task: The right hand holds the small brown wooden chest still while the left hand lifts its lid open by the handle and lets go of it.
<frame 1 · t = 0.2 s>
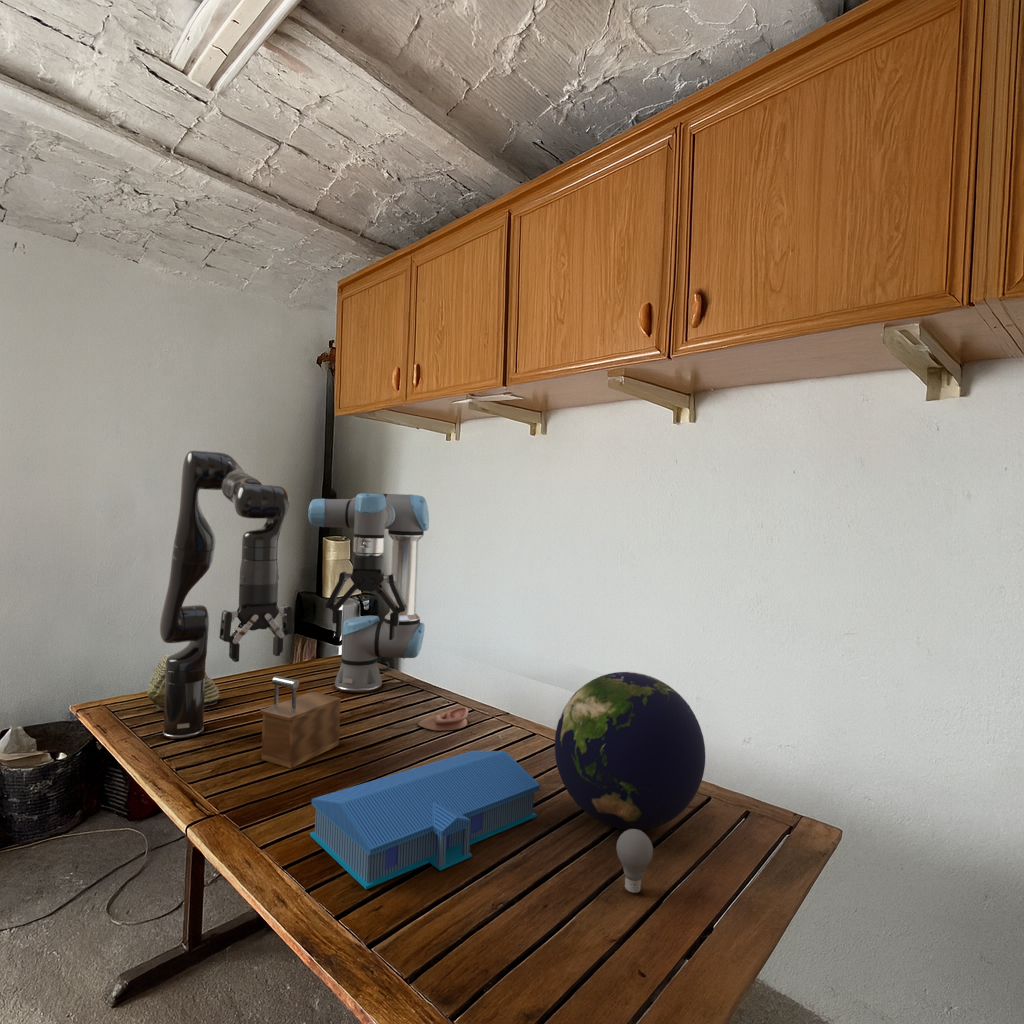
left hand: (256, 658, 132), 29 cm above the table, tool pointing down, fingers open, 8 cm apart
right hand: (365, 637, 161), 28 cm above the table, tool pointing down, fingers open, 13 cm apart
chest: (301, 751, 156), on the table
lid: (302, 690, 156), point 16 cm above the table, hinge at 0.0°
light bulb: (632, 891, 106), on the table
anatomical model: (443, 724, 179), on the table
globe: (624, 822, 129), on the table
model building: (432, 829, 123), on the table
fossil: (183, 706, 185), on the table
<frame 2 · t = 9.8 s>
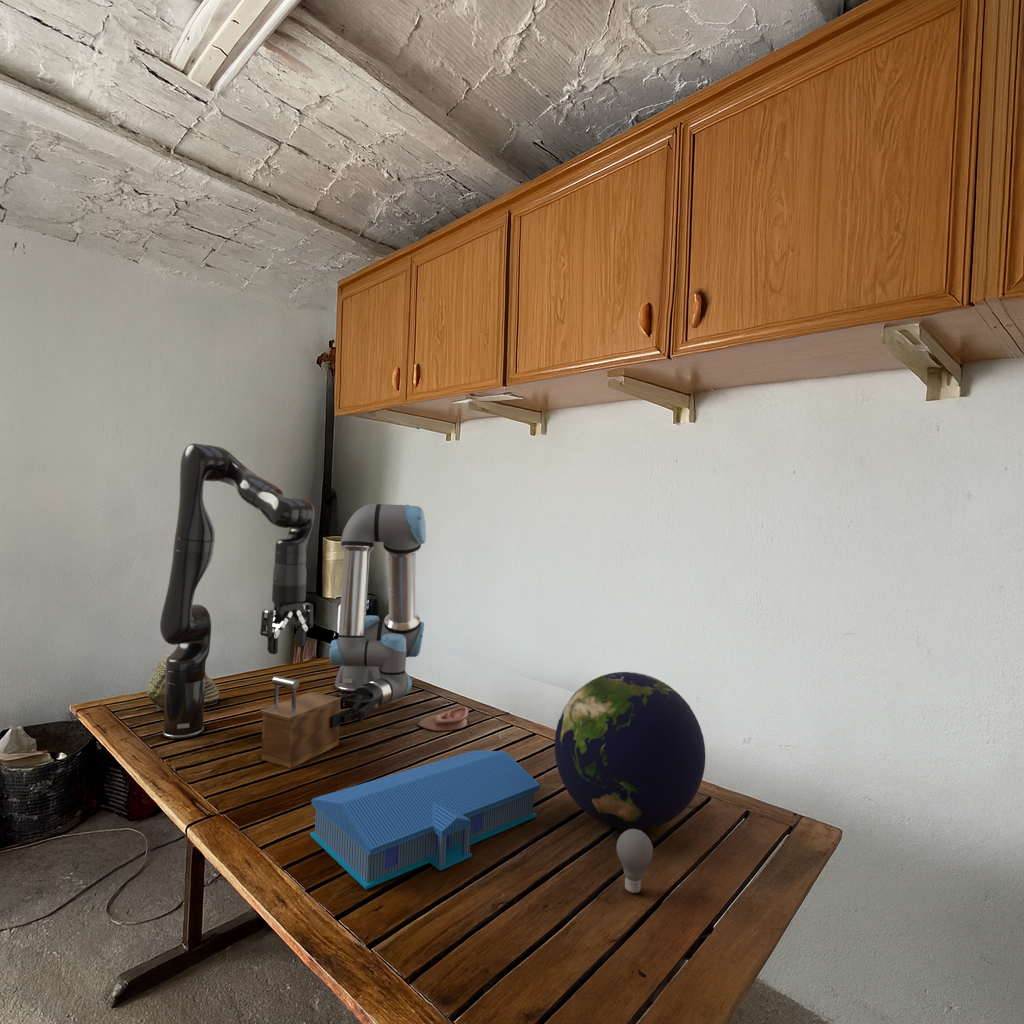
left hand: (287, 650, 150), 26 cm above the table, tool pointing down, fingers open, 8 cm apart
right hand: (315, 718, 160), 7 cm above the table, tool horizontal, fingers closed on chest, 10 cm apart
chest: (301, 751, 156), on the table, touching right hand
everything else where it was.
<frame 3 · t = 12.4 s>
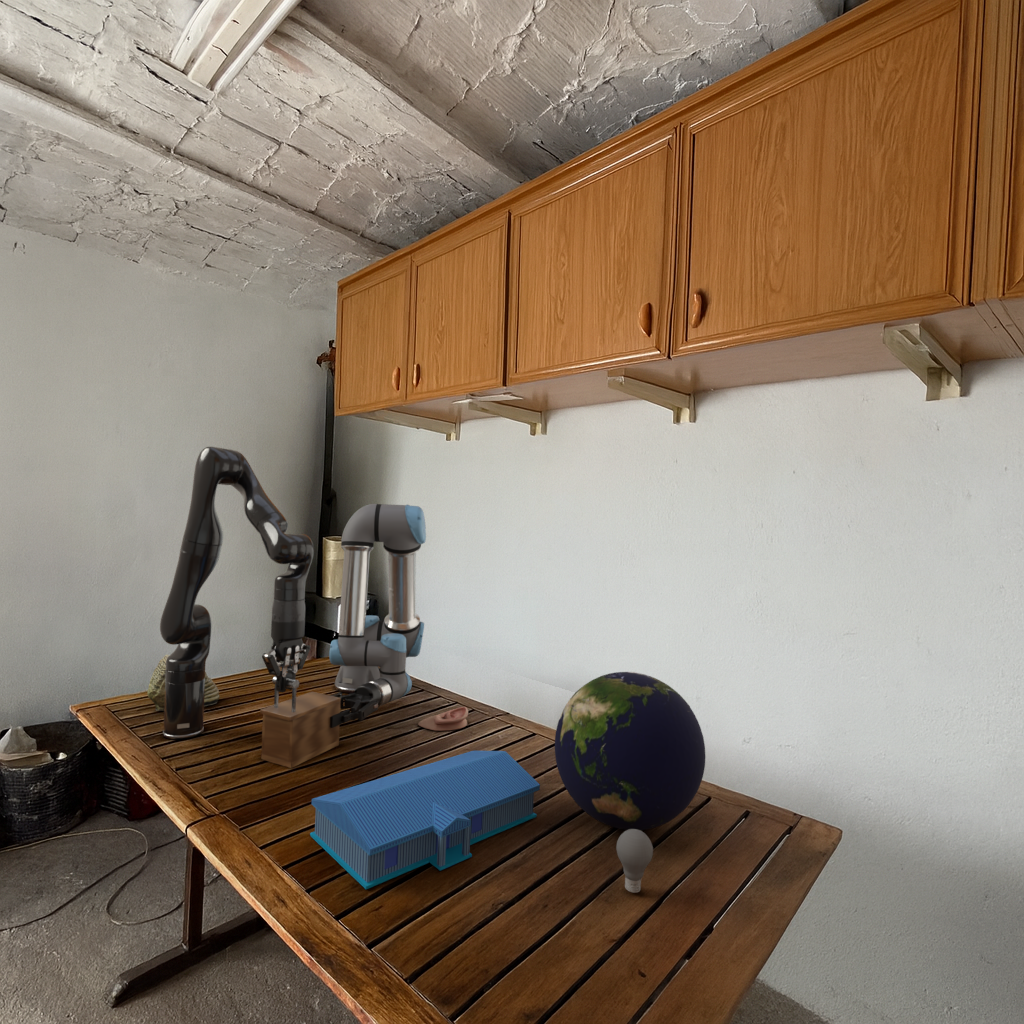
left hand: (285, 689, 151), 17 cm above the table, tool pointing down, fingers closed on lid, 2 cm apart
right hand: (315, 718, 160), 7 cm above the table, tool horizontal, fingers closed on chest, 10 cm apart
chest: (301, 751, 156), on the table, touching right hand
lid: (302, 689, 156), point 16 cm above the table, hinge at 0.2°, touching left hand
everything else where it was.
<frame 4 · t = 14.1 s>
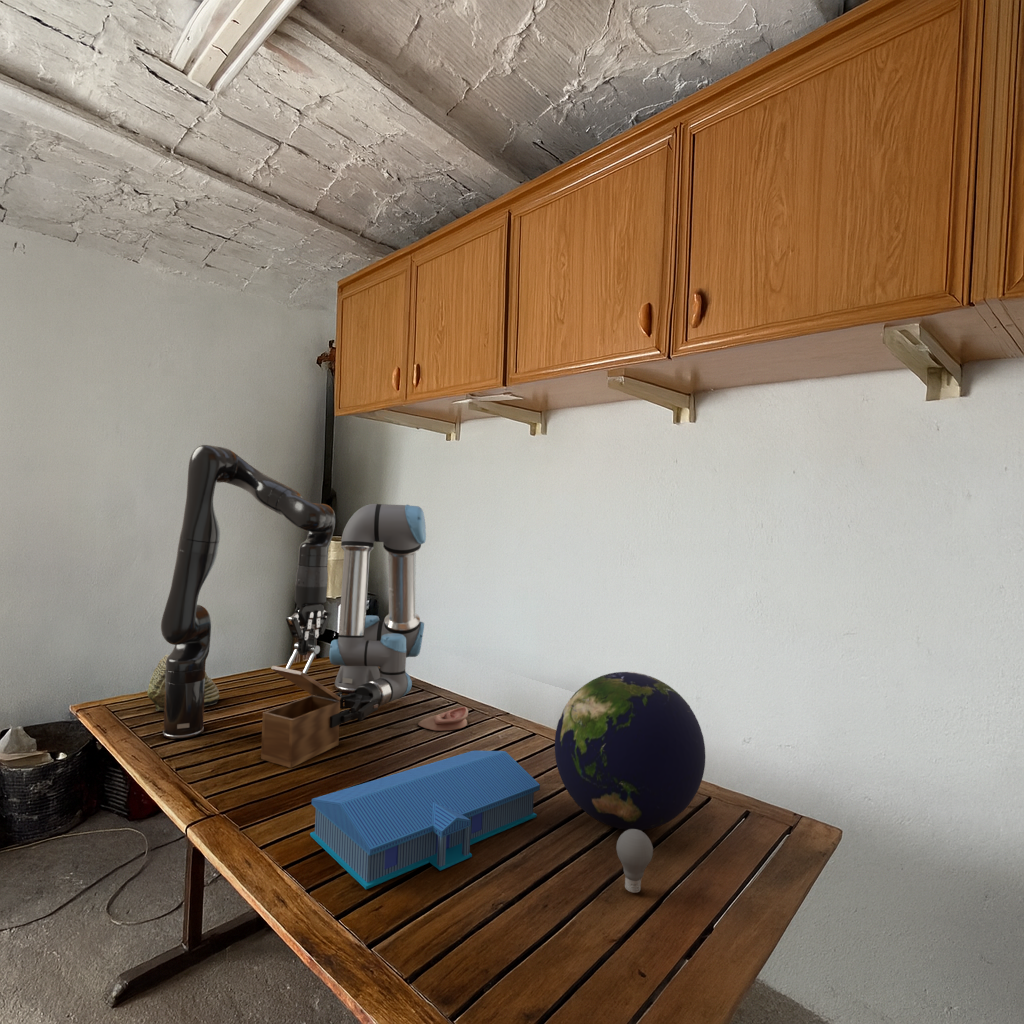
left hand: (306, 653, 157), 24 cm above the table, tool pointing down, fingers closed on lid, 2 cm apart
right hand: (315, 718, 160), 7 cm above the table, tool horizontal, fingers closed on chest, 10 cm apart
chest: (301, 751, 156), on the table, touching right hand
lid: (313, 669, 159), point 20 cm above the table, hinge at 35.4°, touching left hand
everything else where it was.
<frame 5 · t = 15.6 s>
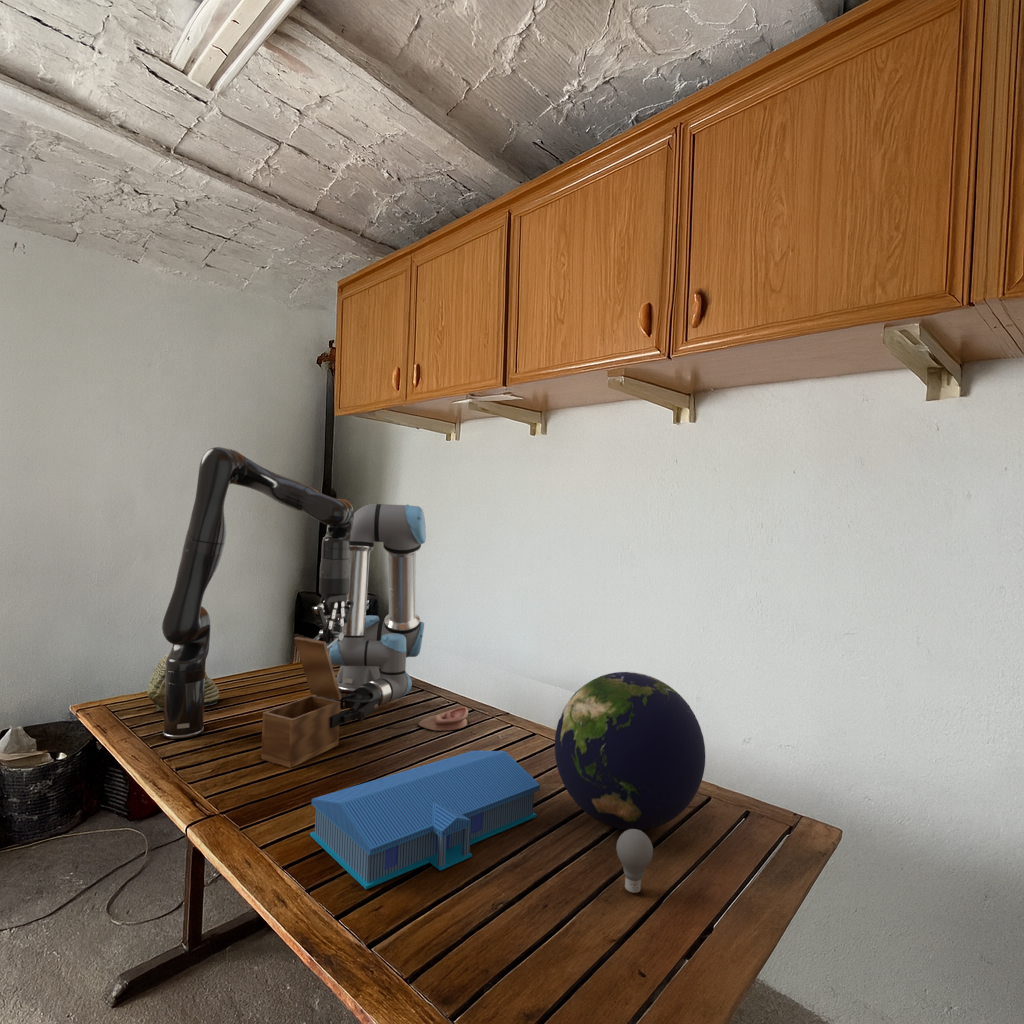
left hand: (332, 641, 165), 26 cm above the table, tool pointing down, fingers open, 3 cm apart
right hand: (315, 718, 160), 7 cm above the table, tool horizontal, fingers closed on chest, 10 cm apart
chest: (301, 751, 156), on the table, touching right hand
lid: (328, 660, 164), point 21 cm above the table, hinge at 67.0°
everything else where it was.
when the right hand's fingers open (7 cm above the table, at t = 19.6 s): chest stays where it is, on the table.
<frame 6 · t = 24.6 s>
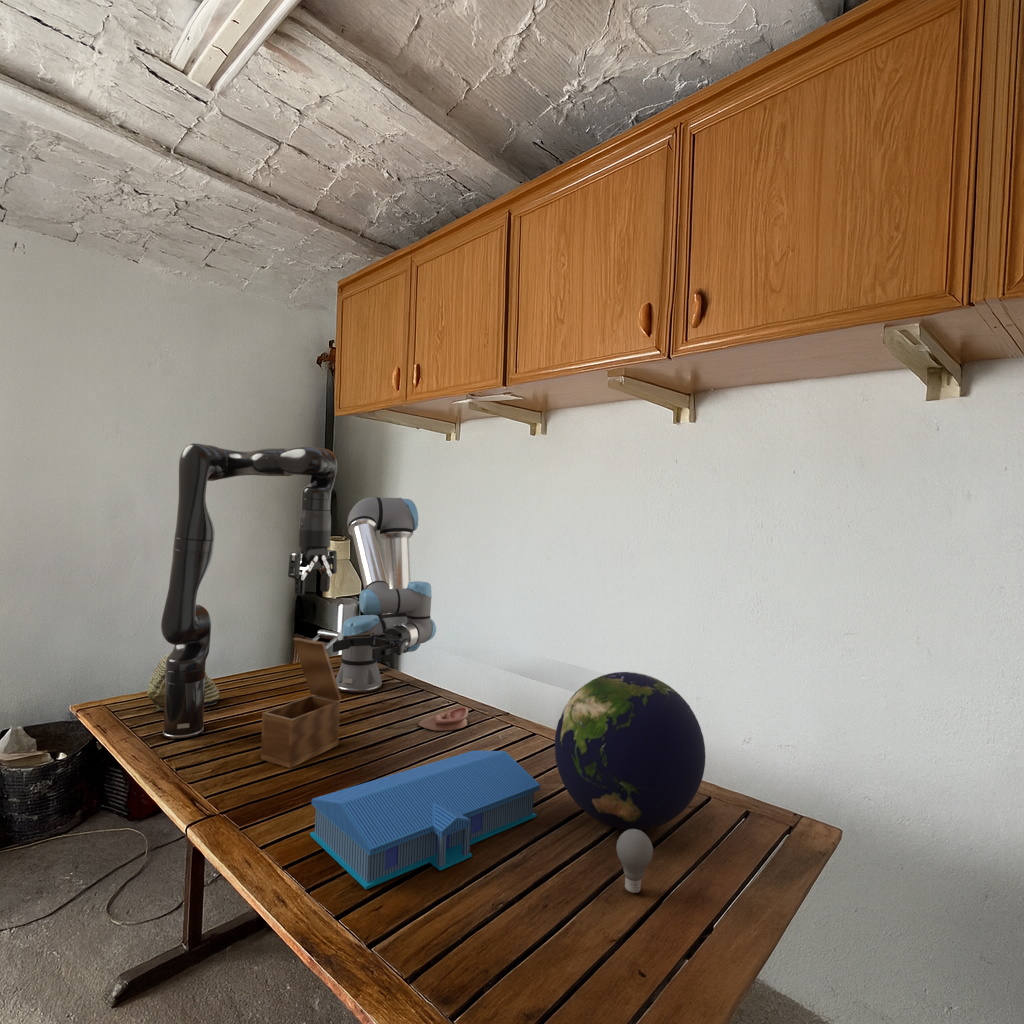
left hand: (312, 593, 157), 39 cm above the table, tool pointing down, fingers open, 8 cm apart
right hand: (353, 650, 172), 22 cm above the table, tool horizontal, fingers open, 13 cm apart
chest: (300, 751, 156), on the table
lid: (327, 660, 163), point 21 cm above the table, hinge at 66.1°
everything else where it was.
at the end: lid at +66° (first picture: +0°); the left hand is holding nothing; the right hand is holding nothing; chest tilted 0°; chest never tilted more than 1° during the clip; chest moved 0.1 cm from its start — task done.
